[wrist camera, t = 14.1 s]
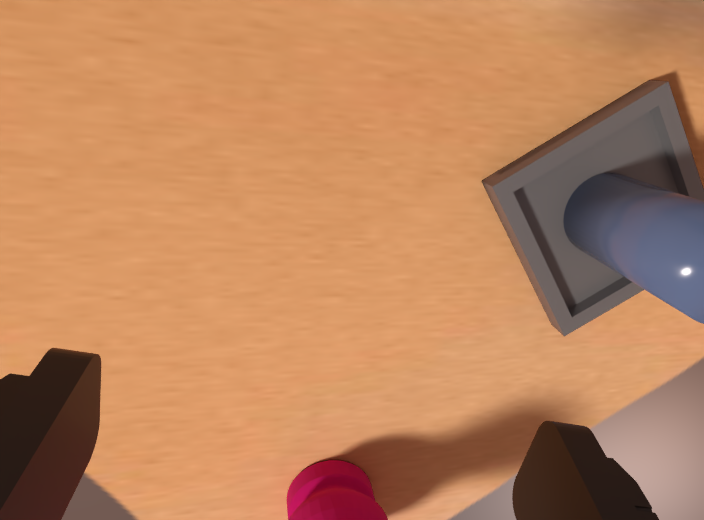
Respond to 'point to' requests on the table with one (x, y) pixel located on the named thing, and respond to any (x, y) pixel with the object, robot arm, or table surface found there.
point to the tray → (571, 171)
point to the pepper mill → (332, 494)
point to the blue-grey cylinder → (642, 236)
